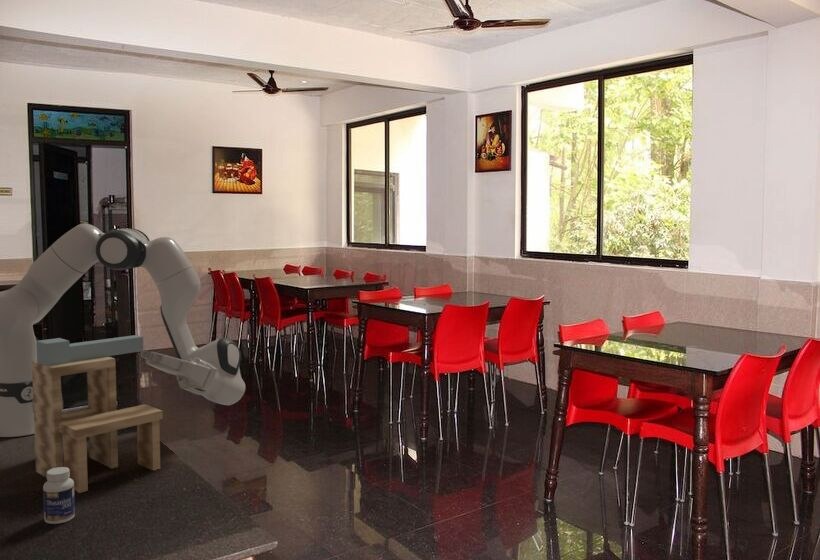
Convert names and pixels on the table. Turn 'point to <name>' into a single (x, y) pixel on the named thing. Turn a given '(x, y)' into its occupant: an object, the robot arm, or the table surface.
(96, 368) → the tall stand
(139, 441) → the bench
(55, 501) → the pill bottle
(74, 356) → the rail
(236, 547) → the table surface
